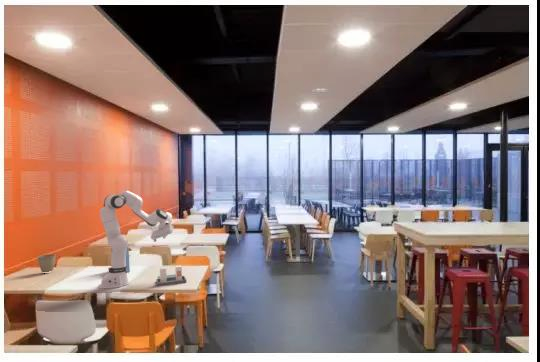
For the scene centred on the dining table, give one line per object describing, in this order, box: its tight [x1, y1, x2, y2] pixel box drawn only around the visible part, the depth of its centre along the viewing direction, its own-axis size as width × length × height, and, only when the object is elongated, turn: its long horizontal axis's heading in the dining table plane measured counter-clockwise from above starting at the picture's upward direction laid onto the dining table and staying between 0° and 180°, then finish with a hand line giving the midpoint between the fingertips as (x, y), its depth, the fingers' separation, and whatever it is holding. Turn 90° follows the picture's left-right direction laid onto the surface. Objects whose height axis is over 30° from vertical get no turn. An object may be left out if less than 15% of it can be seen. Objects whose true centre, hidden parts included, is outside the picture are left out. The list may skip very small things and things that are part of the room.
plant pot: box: [37, 253, 57, 273], centre depth 357 cm, size 15×15×16 cm
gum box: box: [110, 246, 131, 273], centre depth 352 cm, size 19×5×23 cm, turn 56°
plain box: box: [159, 266, 167, 283], centre depth 305 cm, size 4×4×12 cm
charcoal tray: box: [155, 275, 187, 287], centre depth 307 cm, size 22×14×2 cm, turn 110°
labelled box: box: [174, 264, 183, 281], centre depth 309 cm, size 4×5×12 cm
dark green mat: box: [157, 273, 176, 279], centre depth 323 cm, size 16×14×1 cm
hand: (159, 239), depth 317 cm, fingers open, 8 cm apart
